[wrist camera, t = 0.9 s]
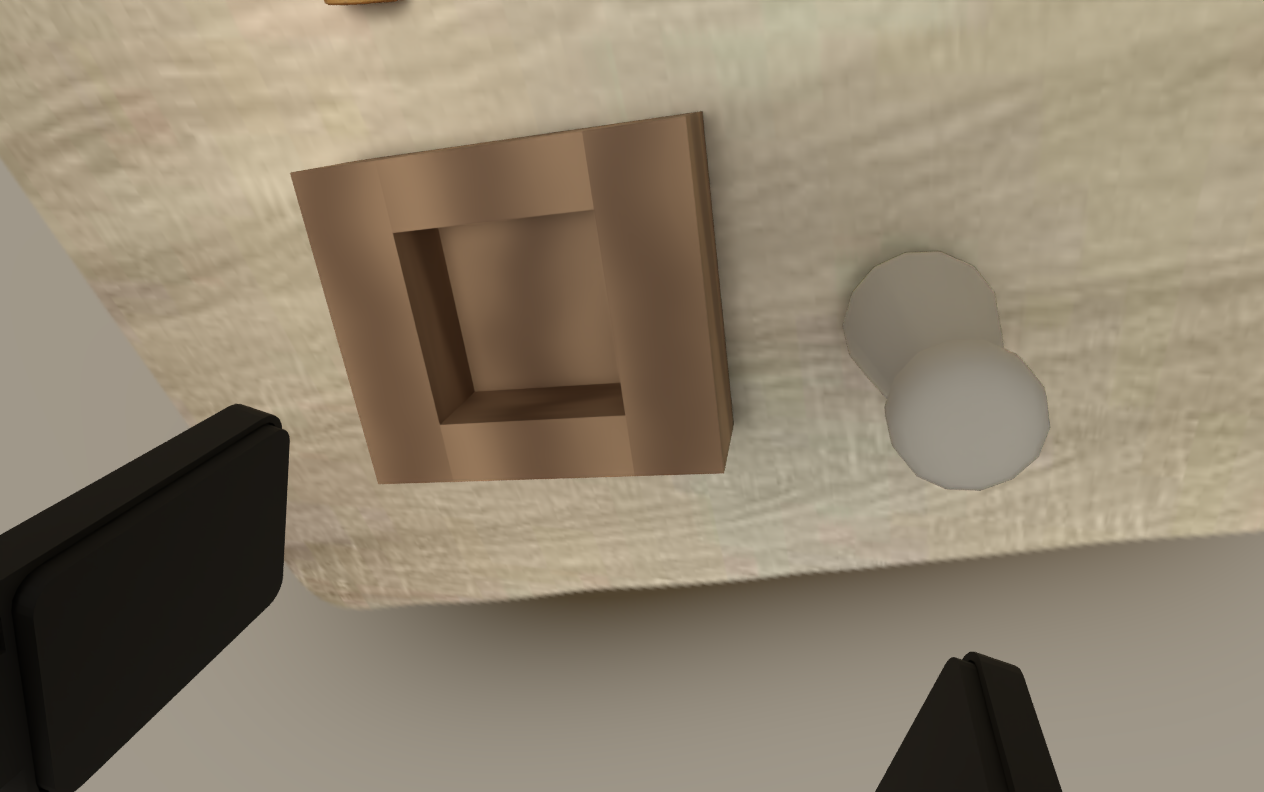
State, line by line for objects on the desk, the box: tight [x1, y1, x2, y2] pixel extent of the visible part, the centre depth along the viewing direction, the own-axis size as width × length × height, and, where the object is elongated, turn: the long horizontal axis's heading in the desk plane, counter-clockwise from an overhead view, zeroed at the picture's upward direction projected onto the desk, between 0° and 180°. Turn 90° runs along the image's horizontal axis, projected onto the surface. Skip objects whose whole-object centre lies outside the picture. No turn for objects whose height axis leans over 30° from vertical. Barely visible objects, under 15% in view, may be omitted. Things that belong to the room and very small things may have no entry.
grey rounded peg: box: [843, 251, 1050, 491], centre depth 27 cm, size 6×6×13 cm
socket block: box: [290, 111, 734, 484], centre depth 34 cm, size 16×14×5 cm
